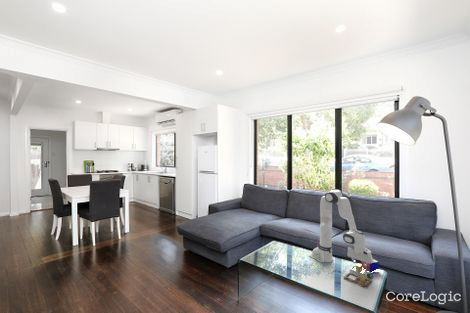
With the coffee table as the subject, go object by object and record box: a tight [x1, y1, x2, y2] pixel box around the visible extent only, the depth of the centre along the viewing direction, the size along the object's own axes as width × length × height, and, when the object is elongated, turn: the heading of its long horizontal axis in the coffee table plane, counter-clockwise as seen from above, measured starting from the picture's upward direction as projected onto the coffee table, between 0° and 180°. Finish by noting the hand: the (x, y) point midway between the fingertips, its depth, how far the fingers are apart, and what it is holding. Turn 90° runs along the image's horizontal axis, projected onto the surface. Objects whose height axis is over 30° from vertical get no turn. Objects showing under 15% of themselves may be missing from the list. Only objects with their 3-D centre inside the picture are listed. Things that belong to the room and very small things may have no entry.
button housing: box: [365, 272, 374, 280], centre depth 196 cm, size 5×5×3 cm
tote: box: [349, 265, 367, 276], centre depth 205 cm, size 12×9×2 cm
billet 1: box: [355, 263, 362, 272], centre depth 204 cm, size 4×5×6 cm
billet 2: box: [359, 274, 368, 285], centre depth 188 cm, size 4×5×6 cm
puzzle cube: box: [360, 258, 380, 272], centre depth 207 cm, size 10×10×10 cm
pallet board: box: [343, 271, 373, 289], centre depth 191 cm, size 18×12×2 cm, turn 41°
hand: (359, 264), depth 203 cm, fingers open, 8 cm apart
